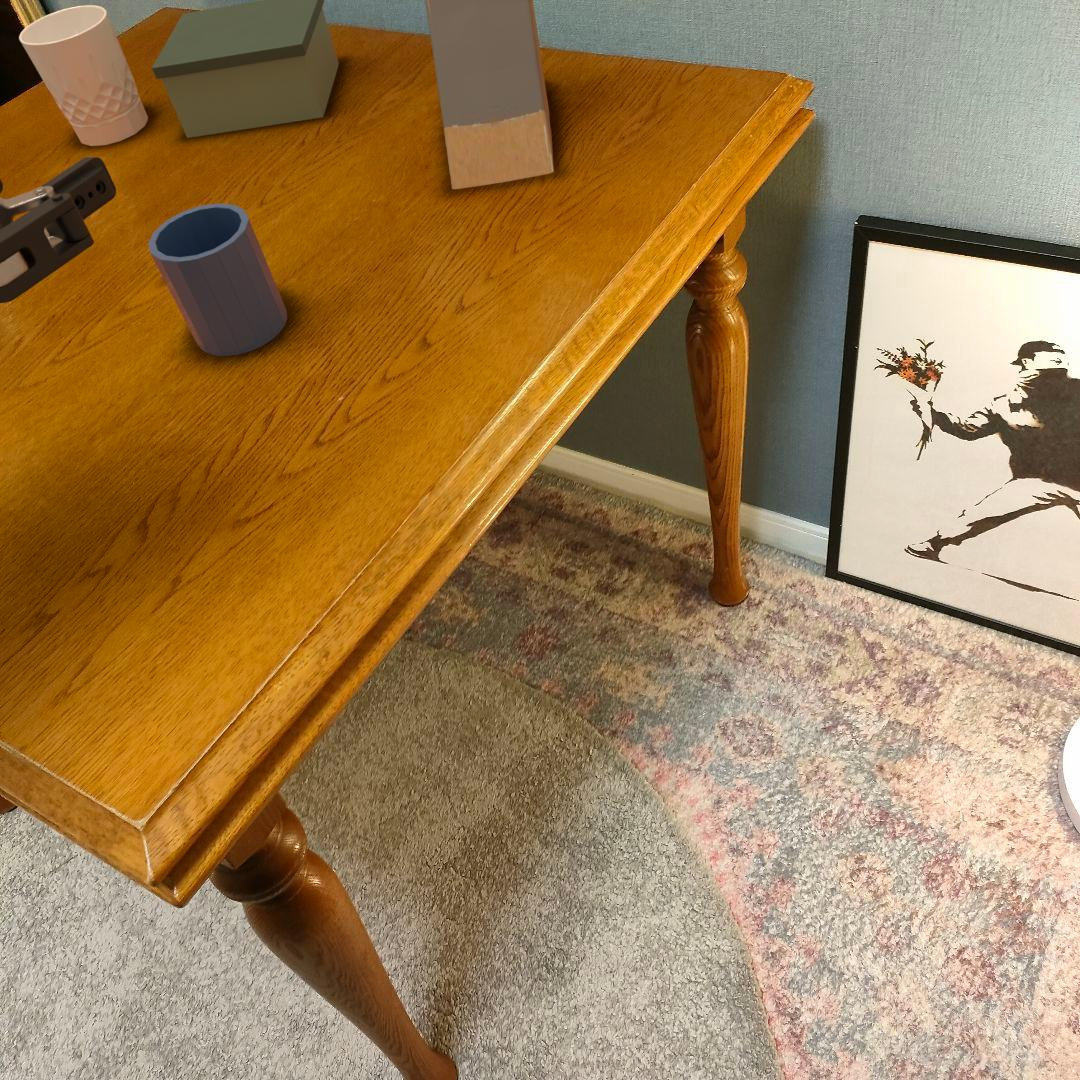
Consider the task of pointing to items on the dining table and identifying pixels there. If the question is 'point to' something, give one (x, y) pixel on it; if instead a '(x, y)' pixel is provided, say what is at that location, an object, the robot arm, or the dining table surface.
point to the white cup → (86, 73)
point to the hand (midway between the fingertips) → (46, 172)
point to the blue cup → (219, 278)
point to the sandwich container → (490, 90)
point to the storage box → (248, 66)
